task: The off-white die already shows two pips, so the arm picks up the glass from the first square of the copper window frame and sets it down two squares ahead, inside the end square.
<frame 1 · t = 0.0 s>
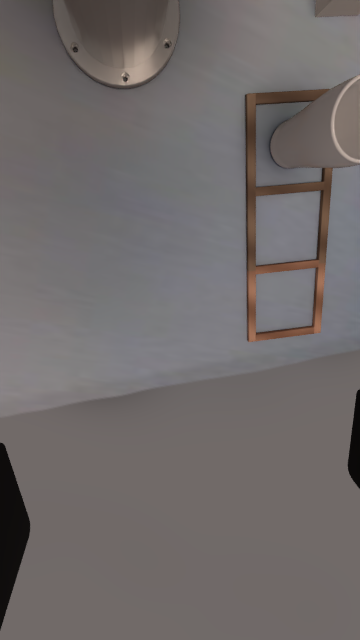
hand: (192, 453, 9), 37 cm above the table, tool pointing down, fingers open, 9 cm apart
copper window frame: (286, 229, 45), on the table
drinking glass: (288, 145, 41), resting in copper window frame
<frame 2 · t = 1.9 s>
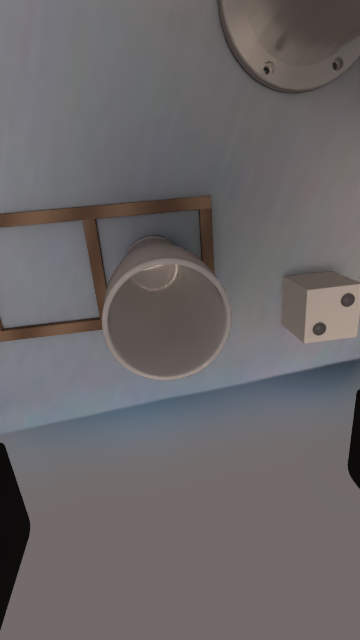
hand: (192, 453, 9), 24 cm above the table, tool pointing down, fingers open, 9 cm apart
die: (305, 297, 34), on the table
copper window frame: (41, 276, 30), on the table
drinking glass: (153, 264, 31), resting in copper window frame
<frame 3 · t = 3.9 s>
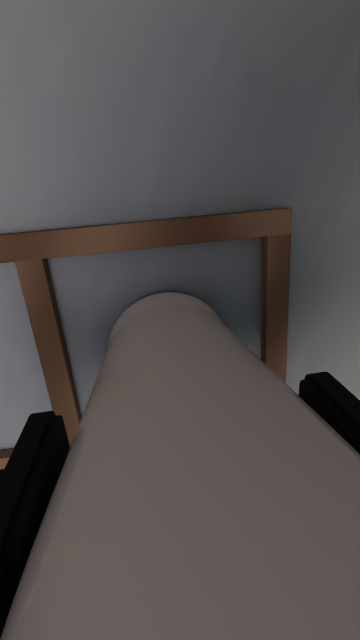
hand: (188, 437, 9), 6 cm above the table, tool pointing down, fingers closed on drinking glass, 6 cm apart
drinking glass: (167, 342, 16), resting in copper window frame, touching gripper
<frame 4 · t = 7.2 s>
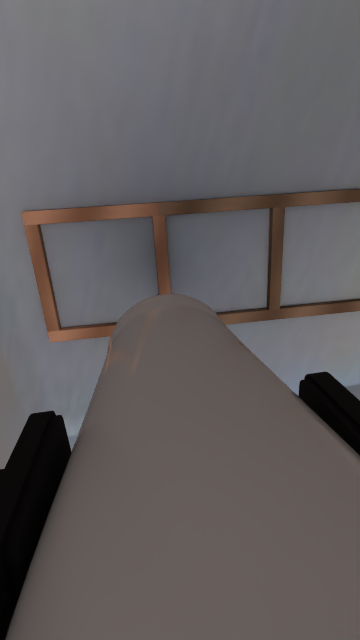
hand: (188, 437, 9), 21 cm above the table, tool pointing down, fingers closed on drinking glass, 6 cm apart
copper window frame: (219, 264, 30), on the table
drinking glass: (168, 344, 16), point 15 cm above the table, touching gripper
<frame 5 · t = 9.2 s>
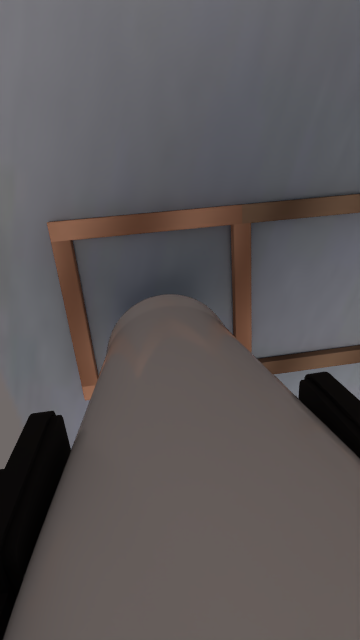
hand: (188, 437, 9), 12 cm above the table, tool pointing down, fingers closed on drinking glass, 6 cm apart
copper window frame: (316, 288, 21), on the table
drinking glass: (167, 344, 16), point 5 cm above the table, touching gripper
when the fingers open (8 cm above the table, at t = 10.9 s): drinking glass drops 1 cm, resting in copper window frame.
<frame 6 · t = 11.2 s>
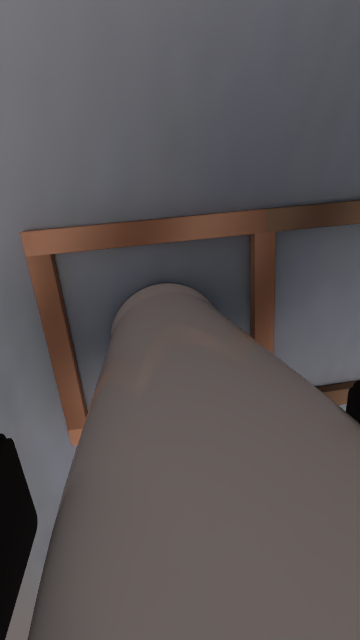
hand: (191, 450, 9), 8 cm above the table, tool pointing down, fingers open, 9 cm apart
copper window frame: (351, 309, 18), on the table
drinking glass: (164, 330, 17), resting in copper window frame
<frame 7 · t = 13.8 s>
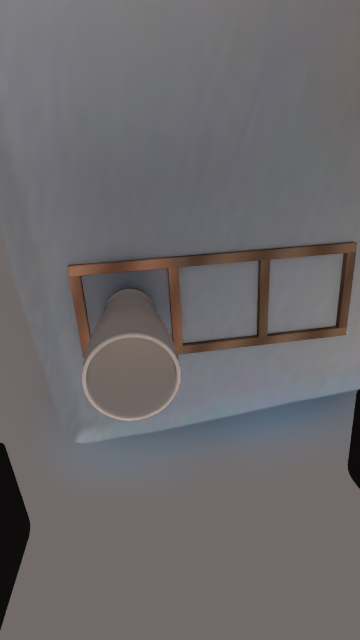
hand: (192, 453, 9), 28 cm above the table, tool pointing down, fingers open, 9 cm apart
copper window frame: (219, 302, 37), on the table
drinking glass: (129, 310, 36), resting in copper window frame
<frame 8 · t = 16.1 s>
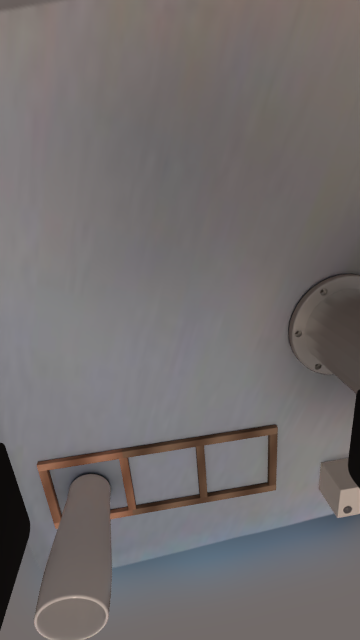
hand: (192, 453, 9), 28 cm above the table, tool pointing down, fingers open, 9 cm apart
die: (335, 472, 50), on the table
copper window frame: (165, 475, 45), on the table
drinking glass: (90, 486, 45), resting in copper window frame
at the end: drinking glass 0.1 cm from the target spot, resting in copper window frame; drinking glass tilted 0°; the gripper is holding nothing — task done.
